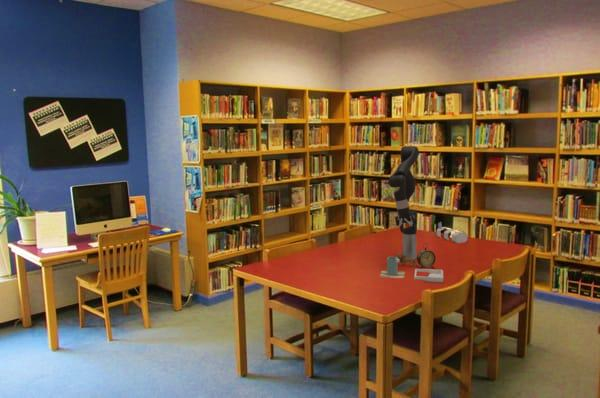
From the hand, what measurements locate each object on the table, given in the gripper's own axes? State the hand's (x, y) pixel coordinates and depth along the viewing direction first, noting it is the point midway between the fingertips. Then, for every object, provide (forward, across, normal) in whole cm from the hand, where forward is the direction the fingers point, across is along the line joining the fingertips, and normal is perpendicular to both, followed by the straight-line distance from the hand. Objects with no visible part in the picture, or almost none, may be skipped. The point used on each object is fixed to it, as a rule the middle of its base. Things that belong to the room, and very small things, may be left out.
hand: (408, 231), depth 310 cm
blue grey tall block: (+19, -1, +24) cm, 31 cm away
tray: (+25, -18, +13) cm, 33 cm away
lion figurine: (+23, +4, +4) cm, 23 cm away
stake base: (+20, -1, +24) cm, 32 cm away
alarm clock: (+25, -5, -3) cm, 26 cm away
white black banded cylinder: (+31, +26, -82) cm, 91 cm away
